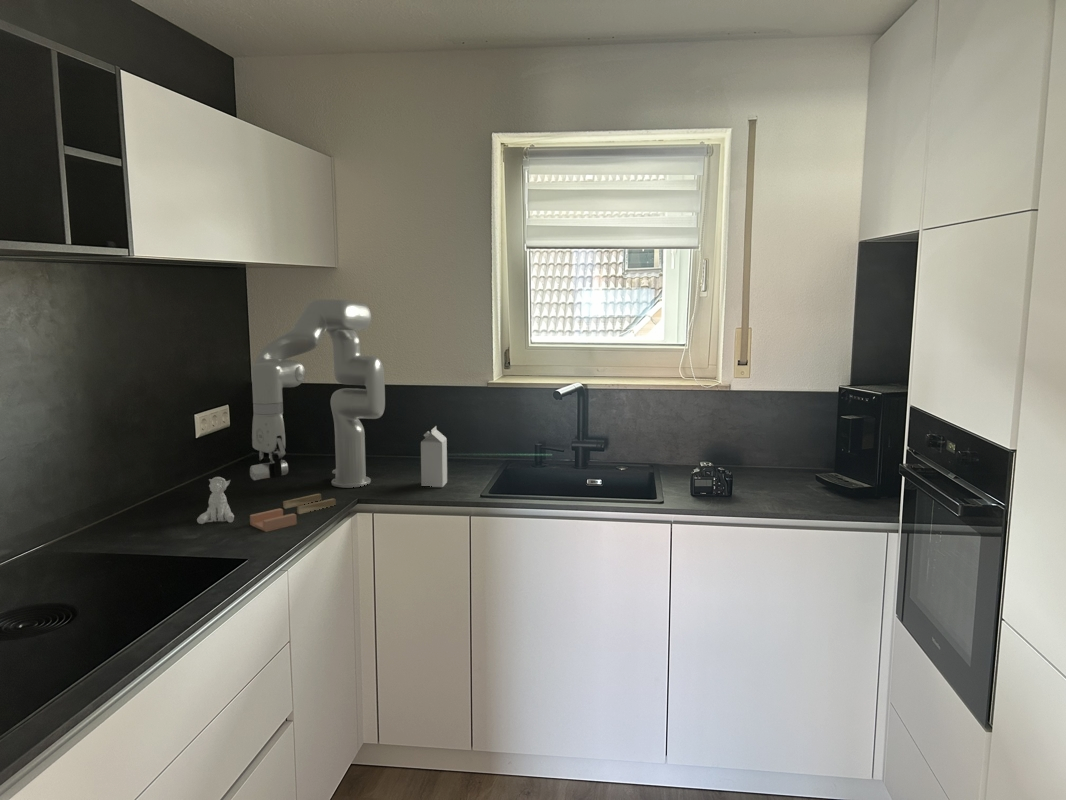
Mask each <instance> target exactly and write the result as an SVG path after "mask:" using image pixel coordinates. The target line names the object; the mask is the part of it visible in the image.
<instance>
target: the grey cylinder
mask: <svg viewBox="0 0 1066 800" xmlns="http://www.w3.org/2000/svg"><path fill="white" fill-rule="evenodd" d="M270 463H271V462H270ZM270 463H264V464H260V463H259V464H254V465H251V466H249V467H250V468H249V476H250V479H252V480H253V481H259V480H263V479H264V480H265V479H269V478H270V470H269V464H270ZM281 470H282V476H284V475H285V476H286V475H287V474H288V473H289V464H288V463H287V461H286V460H285V459H282V462H281ZM270 479H271V478H270Z"/></svg>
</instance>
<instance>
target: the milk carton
mask: <svg viewBox="0 0 1066 800" xmlns="http://www.w3.org/2000/svg"><path fill="white" fill-rule="evenodd" d="M423 437H424V439H422V440H421V442H420V475H421V476H420V479H421V480H420V481H421V486H430V487H429V488H443V487H445V485H446V484H447V483H448V449H447V447H448V445H447V444H448V442H447V441H448V440H447V437H446V436H445V435H443V433H442V432H440V431H439V430H438V429H437V425H435V426H434V427H433V428H432V429H431V430H430V431H429V430H428V431H426V432H425V433H424V434H423ZM431 486H432V487H431Z"/></svg>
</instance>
